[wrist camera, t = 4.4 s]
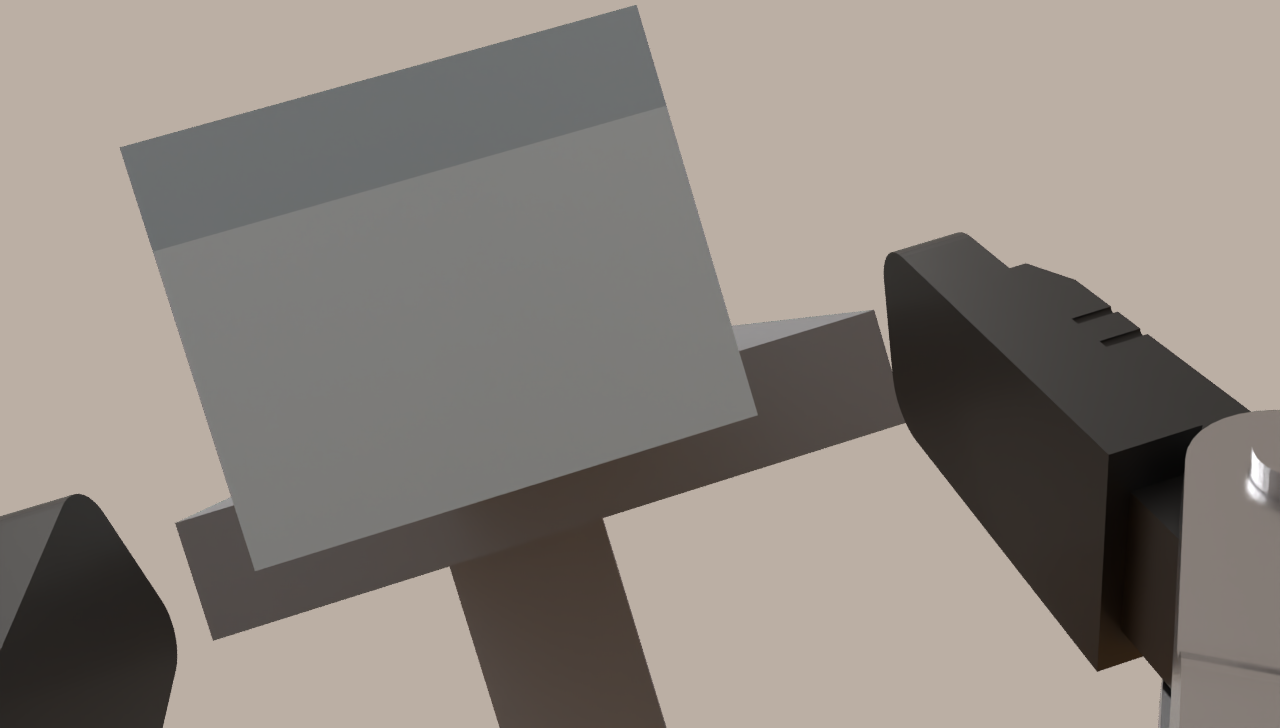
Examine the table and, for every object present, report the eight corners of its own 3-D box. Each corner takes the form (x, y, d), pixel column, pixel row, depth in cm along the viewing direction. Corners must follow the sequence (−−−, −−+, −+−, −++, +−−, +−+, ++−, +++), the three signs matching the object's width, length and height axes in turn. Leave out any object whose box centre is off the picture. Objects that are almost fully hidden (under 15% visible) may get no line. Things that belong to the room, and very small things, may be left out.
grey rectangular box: (757, 415, 8) (636, 4, 8) (254, 571, 8) (119, 148, 8) (605, 363, 32) (574, 261, 32) (482, 400, 32) (450, 298, 31)
